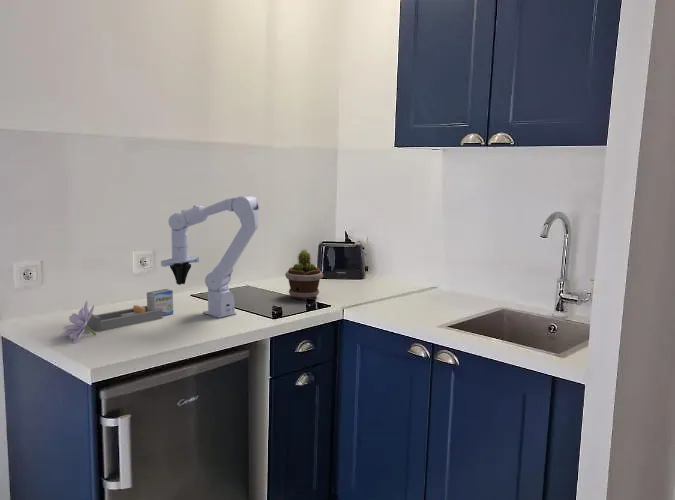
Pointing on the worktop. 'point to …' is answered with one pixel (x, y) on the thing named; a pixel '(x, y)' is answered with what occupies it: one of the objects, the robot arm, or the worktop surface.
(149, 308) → the medicine box
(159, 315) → the gray tray
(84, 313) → the water lily
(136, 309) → the pusher
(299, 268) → the flowerpot
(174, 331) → the worktop surface
